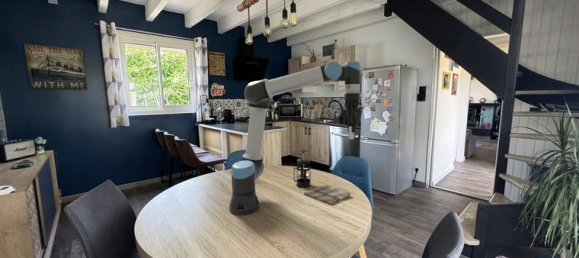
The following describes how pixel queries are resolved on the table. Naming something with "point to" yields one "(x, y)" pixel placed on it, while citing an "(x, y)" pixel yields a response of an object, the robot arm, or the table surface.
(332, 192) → the plank
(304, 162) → the french press
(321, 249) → the table surface
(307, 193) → the laid board
